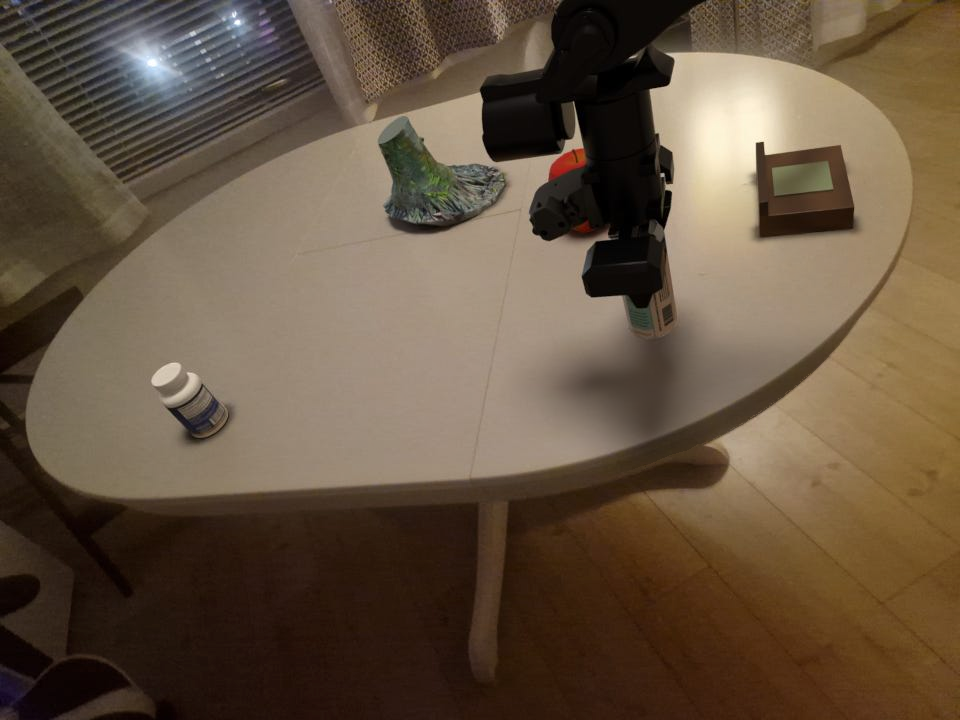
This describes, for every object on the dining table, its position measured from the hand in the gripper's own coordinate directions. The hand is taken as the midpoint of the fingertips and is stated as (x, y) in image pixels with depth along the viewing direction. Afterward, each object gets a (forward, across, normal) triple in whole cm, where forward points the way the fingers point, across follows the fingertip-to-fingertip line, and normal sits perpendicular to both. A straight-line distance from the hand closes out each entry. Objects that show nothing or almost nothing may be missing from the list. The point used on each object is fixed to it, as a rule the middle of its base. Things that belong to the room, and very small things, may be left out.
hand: (644, 289), depth 63 cm
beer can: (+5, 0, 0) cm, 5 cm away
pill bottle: (+11, +8, -57) cm, 59 cm away
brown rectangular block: (+11, -29, +16) cm, 34 cm away
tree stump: (+11, -40, -37) cm, 56 cm away
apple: (+11, -29, -11) cm, 33 cm away
